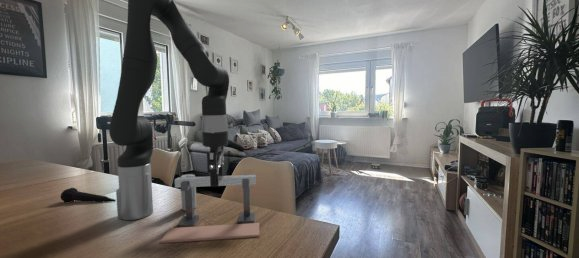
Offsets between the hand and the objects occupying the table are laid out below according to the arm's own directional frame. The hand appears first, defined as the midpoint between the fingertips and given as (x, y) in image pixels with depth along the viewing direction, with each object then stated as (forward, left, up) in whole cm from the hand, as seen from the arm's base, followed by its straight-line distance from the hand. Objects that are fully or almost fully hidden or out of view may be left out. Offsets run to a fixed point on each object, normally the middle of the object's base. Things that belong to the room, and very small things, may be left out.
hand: (217, 182), depth 75 cm
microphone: (-53, +23, -13) cm, 59 cm away
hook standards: (0, 0, -13) cm, 13 cm away
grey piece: (-12, +12, -13) cm, 21 cm away
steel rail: (0, 0, -1) cm, 1 cm away
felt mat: (0, -7, -13) cm, 15 cm away
